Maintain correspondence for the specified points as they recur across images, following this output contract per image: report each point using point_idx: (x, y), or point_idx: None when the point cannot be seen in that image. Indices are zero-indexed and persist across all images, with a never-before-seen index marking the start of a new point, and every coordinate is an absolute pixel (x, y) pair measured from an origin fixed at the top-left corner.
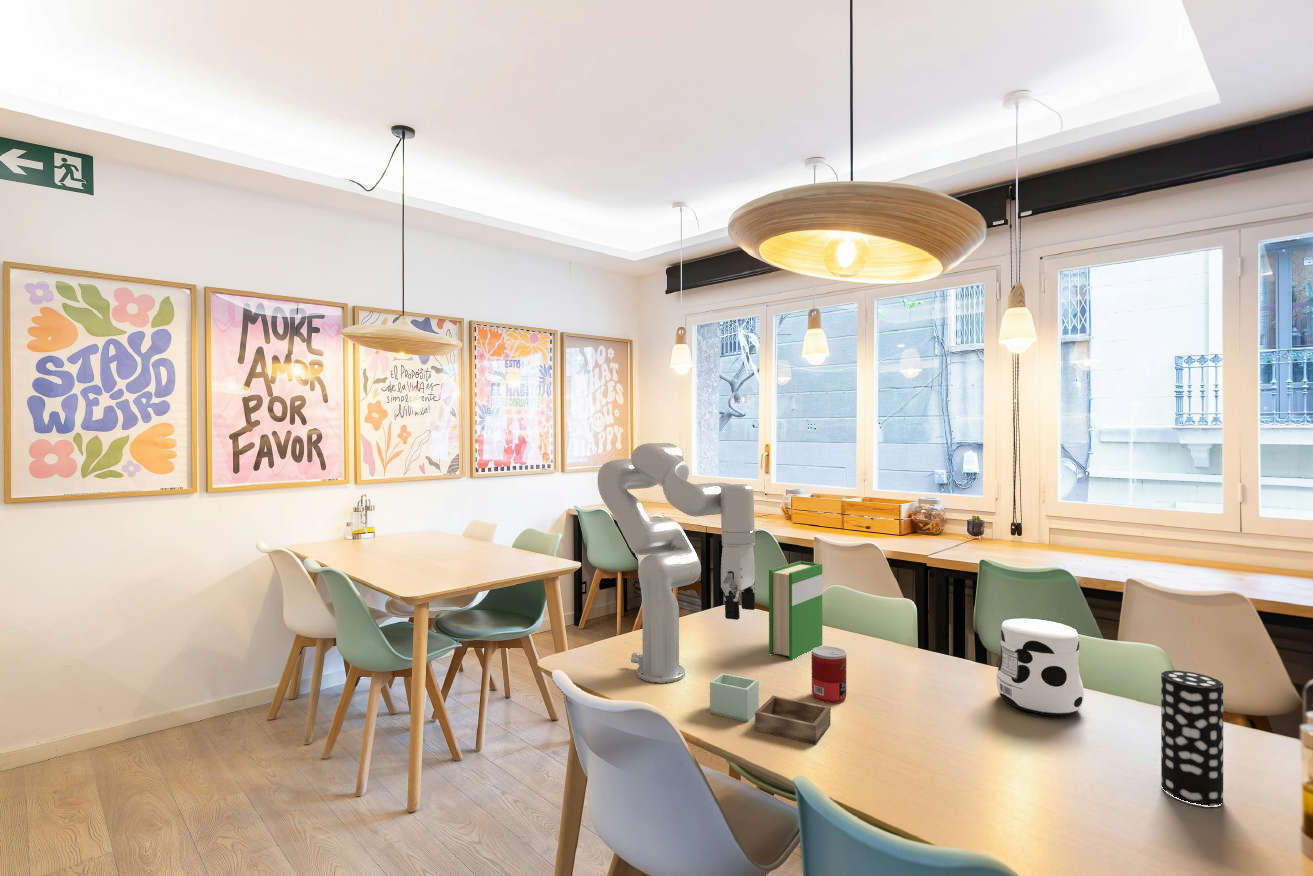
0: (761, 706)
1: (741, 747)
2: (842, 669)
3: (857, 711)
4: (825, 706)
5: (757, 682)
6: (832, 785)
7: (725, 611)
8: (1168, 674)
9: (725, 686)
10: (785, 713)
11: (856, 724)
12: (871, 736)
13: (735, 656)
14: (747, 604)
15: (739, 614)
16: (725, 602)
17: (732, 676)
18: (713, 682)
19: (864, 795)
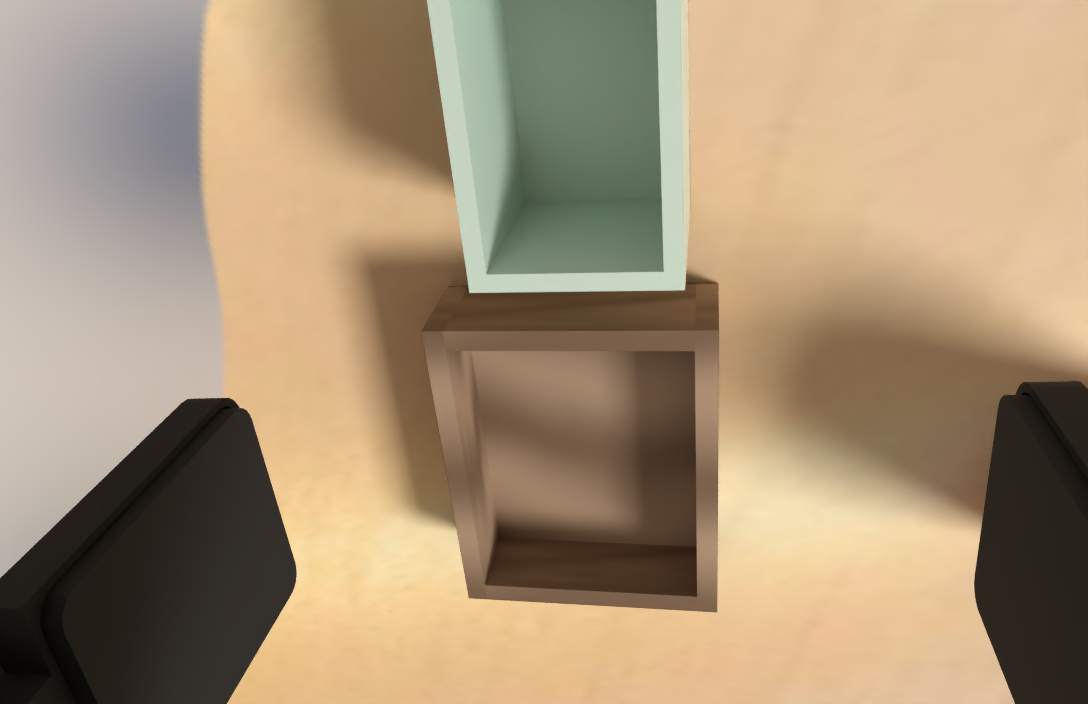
0: (517, 331)
1: (258, 298)
2: None
3: (949, 614)
4: (715, 593)
5: (664, 286)
6: None
7: (132, 460)
8: None
9: (445, 121)
10: (692, 370)
11: (786, 628)
12: (695, 682)
13: None
14: (1013, 560)
15: (259, 635)
16: (12, 587)
17: (658, 75)
18: (436, 5)
19: (277, 700)
